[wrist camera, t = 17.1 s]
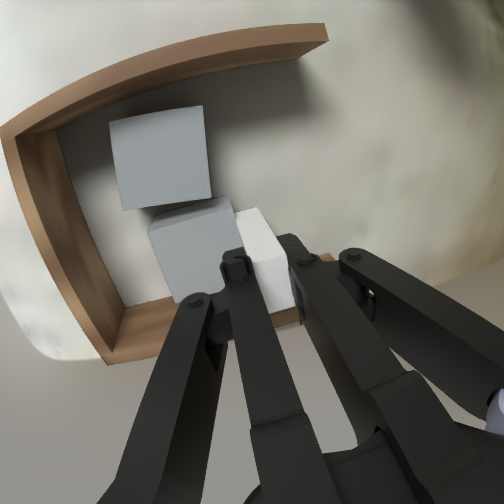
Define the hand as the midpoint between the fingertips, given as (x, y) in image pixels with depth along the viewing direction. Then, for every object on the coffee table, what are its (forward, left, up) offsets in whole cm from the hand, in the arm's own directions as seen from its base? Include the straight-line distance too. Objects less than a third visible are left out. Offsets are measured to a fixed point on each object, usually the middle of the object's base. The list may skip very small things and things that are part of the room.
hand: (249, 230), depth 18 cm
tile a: (-6, -4, -2) cm, 7 cm away
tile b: (0, -3, -2) cm, 4 cm away
